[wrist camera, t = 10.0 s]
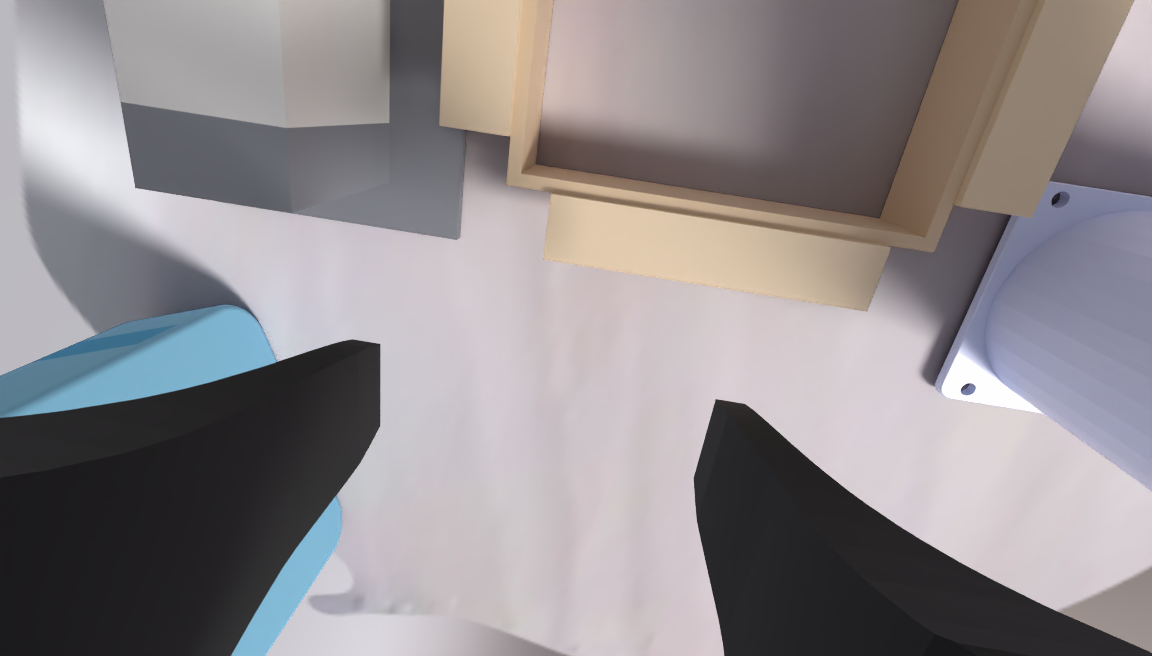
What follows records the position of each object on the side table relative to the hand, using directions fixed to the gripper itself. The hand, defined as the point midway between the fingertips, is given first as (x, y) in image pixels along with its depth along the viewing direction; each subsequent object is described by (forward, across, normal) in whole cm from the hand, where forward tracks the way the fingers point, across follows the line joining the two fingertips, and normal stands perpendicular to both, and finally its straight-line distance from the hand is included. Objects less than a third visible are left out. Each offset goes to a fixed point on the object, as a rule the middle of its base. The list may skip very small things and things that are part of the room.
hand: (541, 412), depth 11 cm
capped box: (+9, +9, -7) cm, 14 cm away
